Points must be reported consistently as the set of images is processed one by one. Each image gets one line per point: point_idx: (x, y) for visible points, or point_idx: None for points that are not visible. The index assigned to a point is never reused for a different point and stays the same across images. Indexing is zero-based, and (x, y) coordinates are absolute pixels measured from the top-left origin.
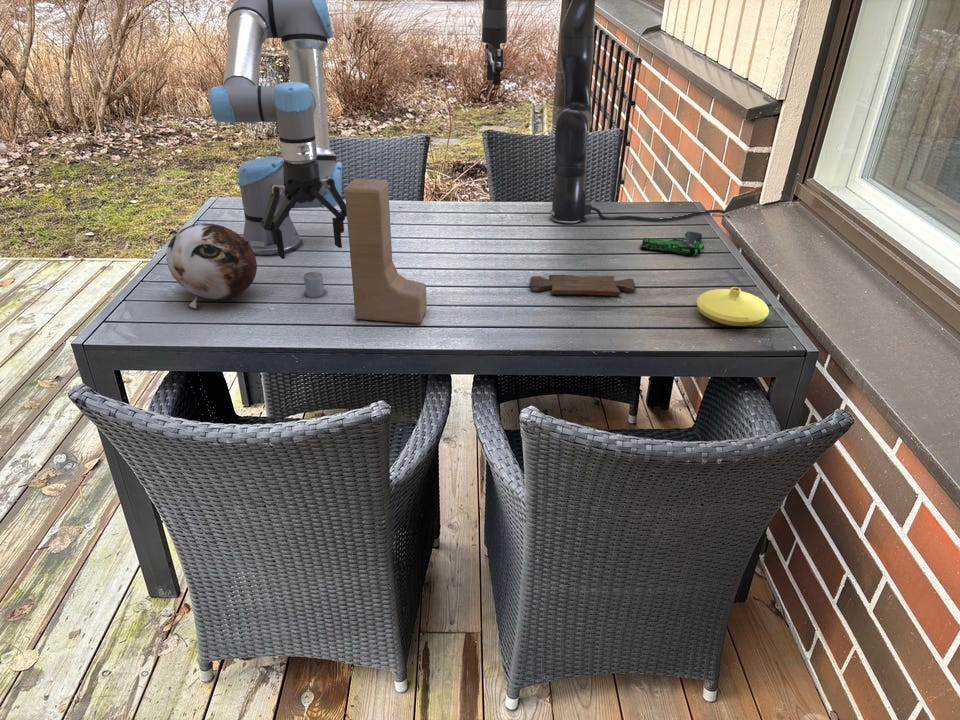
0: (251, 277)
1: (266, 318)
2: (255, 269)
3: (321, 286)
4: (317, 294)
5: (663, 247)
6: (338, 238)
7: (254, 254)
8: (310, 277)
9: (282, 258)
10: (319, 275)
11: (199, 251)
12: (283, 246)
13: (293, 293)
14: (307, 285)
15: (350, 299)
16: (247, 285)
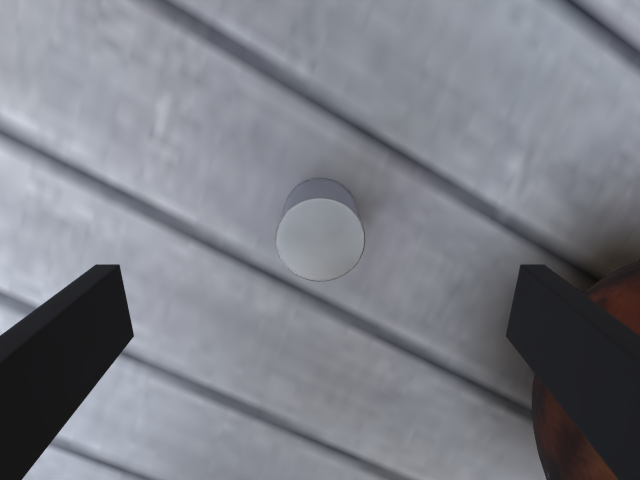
0: (633, 280)
1: (577, 88)
2: None
3: (298, 193)
4: (322, 180)
5: None
6: (70, 301)
7: None
8: (339, 225)
9: (542, 266)
10: (293, 226)
11: None
12: (578, 313)
13: (391, 253)
14: (357, 211)
15: (205, 86)
16: (625, 268)
